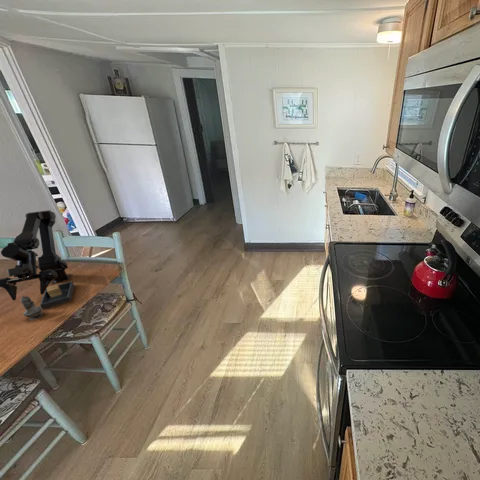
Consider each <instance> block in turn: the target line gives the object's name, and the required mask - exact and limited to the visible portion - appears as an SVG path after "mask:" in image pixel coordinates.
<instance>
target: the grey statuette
mask: <svg viewBox="0 0 480 480" xmlns="http://www.w3.org/2000/svg"><path fill="white" fill-rule="evenodd" d="M19 300H20V303H21V304H22V307H23V308H24V309H25V311H24V312H23V314H22V315H23V316H24V317H26V318H28V319H29V321H34V320H37V319H40V318H41V317H42V316H43V315H44V313H43V312H42V311H43V309H42V307H41V306H40V305H39V306H38V305H37V306H36V305H35V301H32V299H31V297H29V296H27V295H22V297H21V298H20V299H19Z"/></svg>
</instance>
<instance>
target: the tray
mask: <svg viewBox="0 0 480 480" xmlns="http://www.w3.org/2000/svg"><path fill="white" fill-rule="evenodd" d="M57 285H58V286H59V288H60V289H61V292H62V294H61V295H59V296H56V297H53V298H51V297H50V295H49V294H48V292H47V288H48V287H47V288H46V290H45V292H44V294H43V295H42V299H41V301H40V304H39V306H40V307H42V310H44V309H49V308H52V307H56V306H59V305H62V304H66V303H68V302H72V298H73V293H74V288H75V284H74V282H73V281H67V282H65V283H60V284H57Z"/></svg>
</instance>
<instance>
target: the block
mask: <svg viewBox="0 0 480 480" xmlns="http://www.w3.org/2000/svg"><path fill="white" fill-rule="evenodd" d="M58 285H59V284H54V285H52V286H48V287H47V292H48V294H49V295H50V297H51V298H53V297H56V296H59V295H61V294H62V292H61V289H60V288H59V286H58Z"/></svg>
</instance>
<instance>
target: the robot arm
mask: <svg viewBox="0 0 480 480" xmlns="http://www.w3.org/2000/svg"><path fill="white" fill-rule="evenodd" d="M56 218H57V215H56V213H55V212H54V211H52V210H40V211H32V212H27V213H25V220H24V224H23V227H22V230H21V233H20V234H18V235H17V236H16V237H15V238H14V240H13V242H7V245H6V246H4V247H3V248H2V249H1V251H0V254H1V256H2V257H4V258H7V259H10V260H12V261H15V262H17V264H16V265H15V266H14V267H13V268H12V267H11V268H7V269H6V270H7V274H8V275H7V276H8V277H1V278H0V288H3V289H4V290H5V291H6V292H7V293H8V295H9V296H10V298H11V300H12V301H16V300H17V295H18V293H17V290H18V286H17V283H23V282H27V281H32V280H33V281H34V280H37V279H38V281H39V292H40V293H39V294H40V295H44V293H45V290H46V288H48V287H49V285H50V284H54V285H55V284H57V283H58V284H59V283H61V282H65V281H68V280H69V278H70V275H71V274H70V273H66V272H67V271H66V270H67V269H68V268H69V267H68V263H67V261H64V260H62V258H61V256H59V254H57V252H56V247H55V246H56V245H55V239H54V238H55V237H54V232H53V231H54V230H53V226H54V225H55V224H56ZM38 232H39V238H40V240H39V238H38ZM40 245H41V251H42V252H41V253H42V254H41V255H40V256H39V254H38V253H37V252H35V251H34V250H35V249H36V250H37V249H38V248H39V246H40ZM37 257H38V258H37ZM37 261H38V265H37ZM37 269H39V270H40V271H39V272H38V273H37ZM11 277H14V278H11ZM51 282H52V283H51Z"/></svg>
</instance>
